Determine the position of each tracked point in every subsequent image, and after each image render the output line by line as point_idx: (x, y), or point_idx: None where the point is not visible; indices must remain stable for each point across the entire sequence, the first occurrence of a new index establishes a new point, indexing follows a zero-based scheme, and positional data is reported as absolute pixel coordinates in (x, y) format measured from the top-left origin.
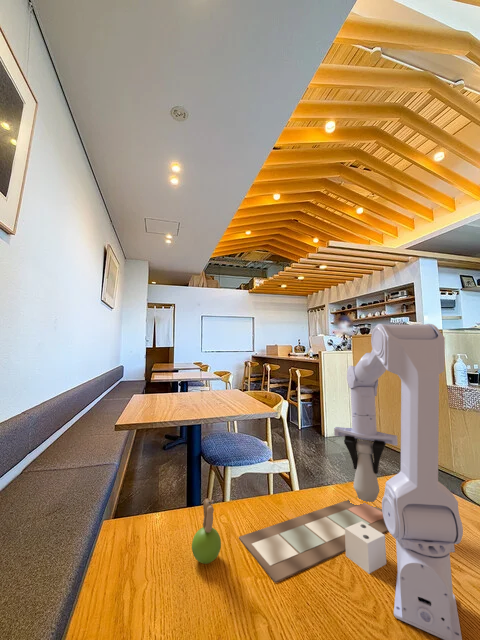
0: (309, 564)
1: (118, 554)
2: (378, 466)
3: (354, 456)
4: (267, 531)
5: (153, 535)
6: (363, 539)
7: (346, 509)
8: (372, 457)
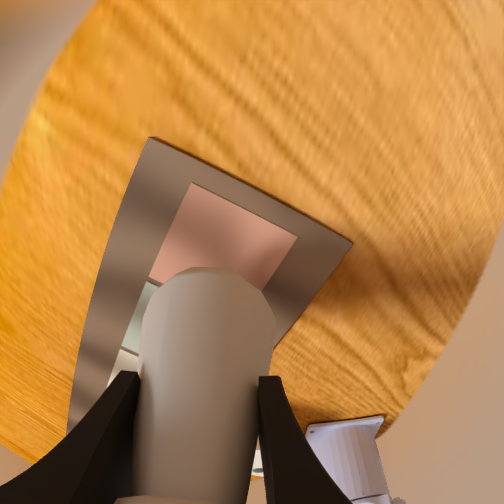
0: None
1: (32, 459)
2: (287, 400)
3: (130, 486)
4: (78, 420)
5: (16, 440)
6: (255, 474)
7: (146, 278)
8: (249, 484)
